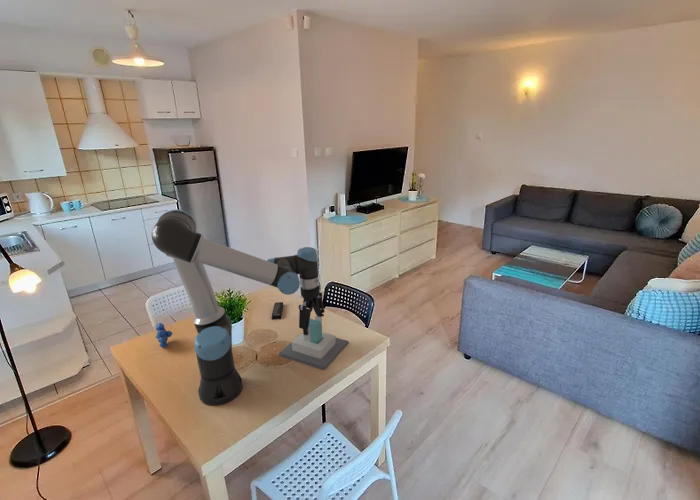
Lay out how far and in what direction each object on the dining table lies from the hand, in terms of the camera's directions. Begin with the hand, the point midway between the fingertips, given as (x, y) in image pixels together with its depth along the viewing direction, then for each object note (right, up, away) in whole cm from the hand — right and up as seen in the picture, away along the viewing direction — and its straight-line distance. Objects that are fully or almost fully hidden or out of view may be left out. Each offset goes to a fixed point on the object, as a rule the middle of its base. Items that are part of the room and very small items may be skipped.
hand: (313, 335), depth 154 cm
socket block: (0, -7, +2) cm, 7 cm away
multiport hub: (-21, +3, +34) cm, 40 cm away
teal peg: (0, -5, +2) cm, 6 cm away
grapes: (-65, -7, +8) cm, 66 cm away
